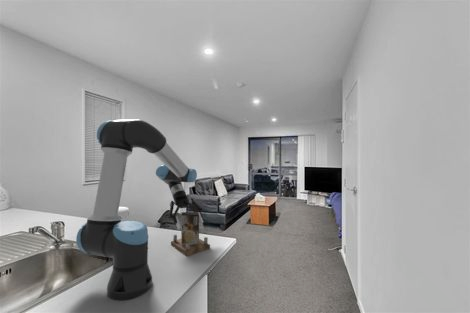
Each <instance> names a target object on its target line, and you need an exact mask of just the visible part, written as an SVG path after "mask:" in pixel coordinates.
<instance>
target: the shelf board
mask: <svg viewBox="0 0 470 313" xmlns="http://www.w3.org/2000/svg"><path fill="white" fill-rule="evenodd" d="M172 237H173V240H171V241H170V246H171V247H173V248H174V247H175V248H174V249H176V250H177V251H178V250H179V251H178V252H180V253H181V254H182V255H183V256H185V257H188V256H191V255H195V254H197V253H201V252H204V251H207V250H210V249H211V244H209V243H208V239H209V238H208V237H204V238H203V239H204V240H203V239H200V238H199V244H196V245H190V243H189V242H187V243H186V246H182V243H181V238H178V234H173V236H172Z"/></svg>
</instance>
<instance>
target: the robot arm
mask: <svg viewBox="0 0 470 313" xmlns="http://www.w3.org/2000/svg"><path fill="white" fill-rule="evenodd" d="M96 139H97V140H98V143H99V145H100V150H101V151H102V153H104V155H103V159H102V164H101V170H100V174H99V180H98V185H97V186H98V187H97V191H96V197H95V202H94V206H93V207H94V208H93V213H92V214H91V215H90V216H88V217H87V220H86V223H84V224H83V225H82V226H81V228H79V229H78V231H77V234H76V239H75V241H76V245H77V247H78V249H79V250H80V251H81V253H84V254H87V255H91V256H99V257H104V258H111V259H112V271H111V274H110V277H109V280H108V283H107V286H106V294H107V297H109V298H110V299H112V300H116V301H122V300H123V301H124V300H125V301H126V300H131V299H134V298H137V297H139V296H141V295H143V294H145V293H146V292H147V291H149V290H150V289H151V287H152V285H153V274H152V272H151V269H150V266H149V262H148V256H149V255H148V253H149V252H148V251H149V250H148V248H149V234H148V232H149V230H148V226H147V225H146V224H145V223H143V222H141V221H137V220H129V221H123V222H121V218H120V217H119V215H118V210H119V207H120V203H121V197H122V192H123V191H122V190H123V184H124V179H125V172H126V167H127V162H128V157H129V156H131V155H132V153H133V149H134V148H139V149H143V150H145V151H146V152H148V153H149V154H153V155H154V156H155V157H156V158H157V159H158V160H159V161H161V163H162V164H161V165H159V166H157V168H156V170H155V176H156V177H157V178H158V179H160V181H163V182H164V183H165V184H167V185H168V188H169V191H170V193H171V195H172V199H173V200H171V202H169V206H170V208H169V212H168V219H171V220H172V221H173V224H174V225H175V226H176V229H177V231H180V230H181V222H180V220H179V217H178V216H177V213H178V212H179V209H186V208H187V209H189V210H191V212H198V214H199V226H200V225H203V224H204V220H203V215H202V212H203V210H204V209H203V208H202V207H201V206H200V205H199V204H198V203H197V202H196V201H195V199H194V198H192V197H191V198H190V199H189V198H188V195H187V193H186V190H185V189H184V188H185V187H184V186H183V183H194V182H196V180H197V177H198V174H197V170H196V169H195V168H189V167H188V166H187V164H185V162H184V161H183V160H182V159H181V158H180V156H179V155H178V154H177V153H176V152H175V151H174V150H173V148H172V147H171V146H170V145H169V144H168V143H167V138H166V136H164V134H163V133H162V132H161V131H160V130H158V128H156V127H155V126H154V125H152V124H150V123H149V122H147V121H145V120H142V119H139V118H137V119H135V118H134V119H133V118H132V119H111V120H106V121H104V122H103V123H101V124H100V125H99V127H98V128H97V130H96ZM174 206H176V209H175V211H174ZM173 211H174V213H173Z"/></svg>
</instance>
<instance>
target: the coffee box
mask: <svg viewBox="0 0 470 313" xmlns="http://www.w3.org/2000/svg"><path fill="white" fill-rule="evenodd" d="M180 216H181V217H180V218H181V219H180V221H181V222H180V225H181V228H180V230H181V235H180V236H181V238H180V239H181V243H182V246H186V243H187V242H189V243H190V245H196V244H199V239H200V222H199V214H198V212H194V211H187V212H186V211H185V212H181V213H180Z"/></svg>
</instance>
